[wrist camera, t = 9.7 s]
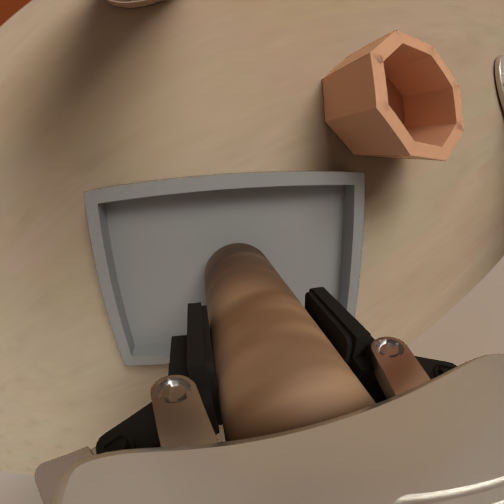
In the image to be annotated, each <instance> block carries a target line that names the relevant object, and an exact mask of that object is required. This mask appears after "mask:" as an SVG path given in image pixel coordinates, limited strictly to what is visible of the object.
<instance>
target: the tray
mask: <svg viewBox="0 0 504 504" xmlns="http://www.w3.org/2000/svg"><path fill="white" fill-rule="evenodd" d="M84 198H85V206H86V214H87V221H88V227H89V234H90V239H91V245H92V250H93V256H94V261H95V265H96V270H97V274H98V279H99V283H100V287H101V291H102V295H103V299H104V303H105V306H106V310H107V314H108V317H109V320H110V324H111V327H112V330H113V333H114V337H115V340H116V343H117V346H118V349H119V352H120V354H121V357H122V360H123V363H124V365H125V366H139V365H160V364H169V361H170V349H171V338H172V336H179V335H187V309H188V303H198V302H201V305H202V306H203V305H207V301H206V290H205V280H204V272H205V267H206V264H207V262H208V260H209V259H210V257H211V256H212V255H213V254H214V253H215V252H216V251H217V250H218V249H220V248H222V247H224V246H226V245H229V244H233V243H245V244H249V245H252V246H254V247H256V248H257V249H259V250H260V251H261V252H262V253H263V254H264V255H265V257H266V258H267V259H268V261H269V262H270V263H271V265H272V266H273V267H274V268H275V270H276V271H277V272H278V274H279V275H280V276H281V278H282V279H283V280H284V282H285V283H286V284H287V286H288V287H289V288H290V289H291V291H292V292H293V293H294V295H295V296H296V297H297V299H298V300H299V301H300V303H301V304H302V305H303V307H304V308H305V294H306V292H309V289H310V288H317V287H324V288H325V289H326V290H327V291H328V292H329V293H330V294H331V295H332V296H333V297H334V298H335V299H336V300H337V301H338V302H339V303H340V304H341V305H342V306H343V307H344V308H345V309H346V310H347V311H348V312H349V313H350V314H351V315H352V316H353V317H354V318H355V312H356V304H357V296H358V288H359V279H360V268H361V257H362V244H363V227H364V202H365V173H363V172H351V171H273V172H248V173H230V174H215V175H203V176H191V177H181V178H171V179H162V180H154V181H146V182H138V183H131V184H124V185H117V186H110V187H104V188H98V189H93V190H89V191H85V192H84ZM207 312H208V310H207Z"/></svg>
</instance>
